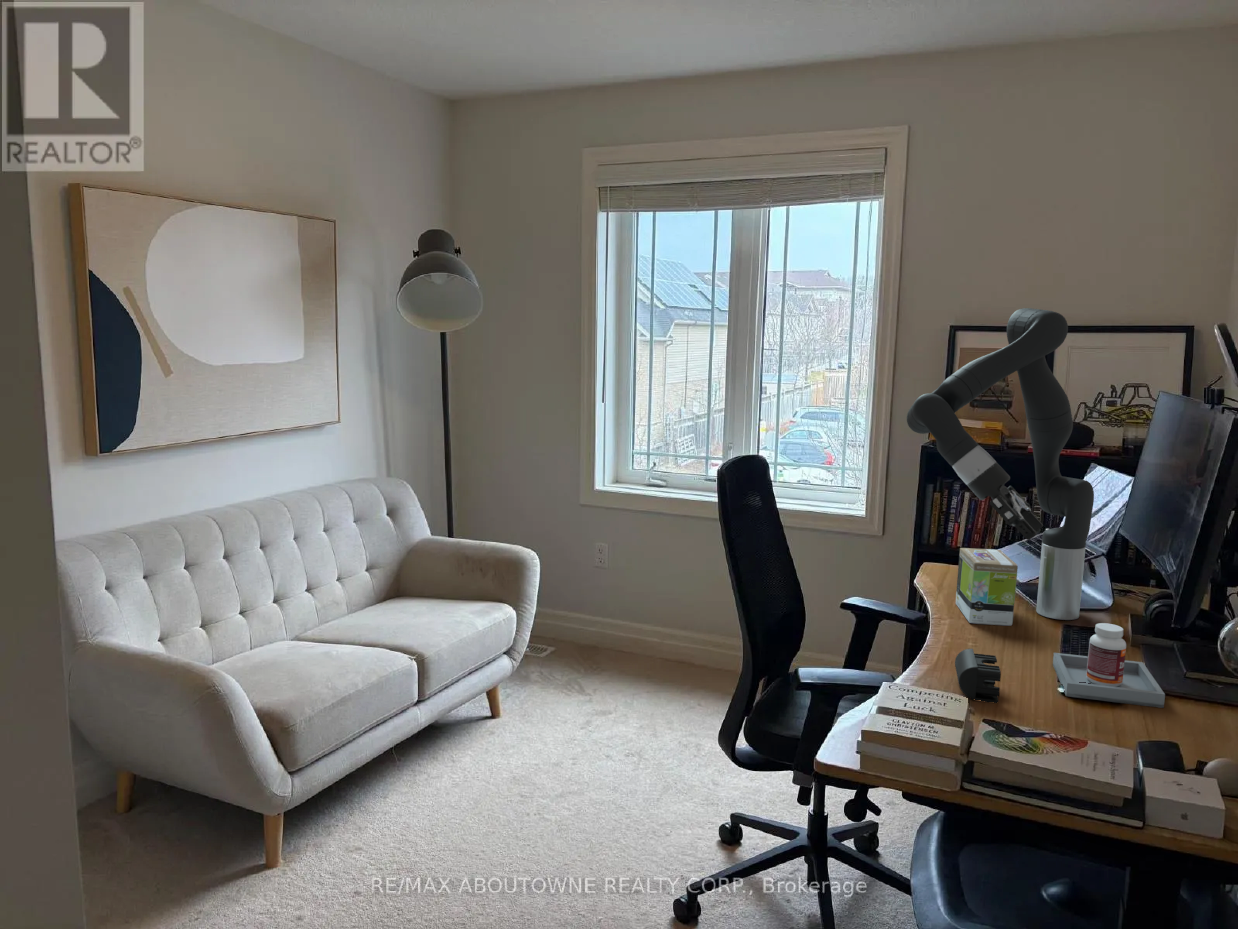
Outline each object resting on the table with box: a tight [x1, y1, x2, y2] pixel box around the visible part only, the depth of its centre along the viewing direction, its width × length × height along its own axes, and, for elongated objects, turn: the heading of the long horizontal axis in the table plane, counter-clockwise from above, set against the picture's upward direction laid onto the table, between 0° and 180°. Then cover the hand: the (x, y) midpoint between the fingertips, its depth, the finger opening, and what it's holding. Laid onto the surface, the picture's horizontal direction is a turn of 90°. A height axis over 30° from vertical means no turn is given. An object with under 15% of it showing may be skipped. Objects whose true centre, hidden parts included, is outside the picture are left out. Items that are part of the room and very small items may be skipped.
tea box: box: [955, 547, 1019, 627], centre depth 207 cm, size 15×10×15 cm
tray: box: [1052, 652, 1166, 709], centre depth 168 cm, size 16×16×3 cm
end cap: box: [954, 648, 1002, 704], centre depth 164 cm, size 10×7×7 cm
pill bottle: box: [1086, 622, 1127, 687], centre depth 167 cm, size 6×6×11 cm
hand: (1036, 533), depth 178 cm, fingers open, 8 cm apart
